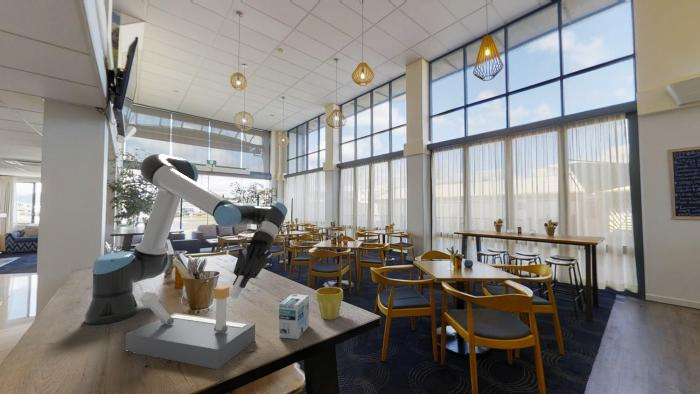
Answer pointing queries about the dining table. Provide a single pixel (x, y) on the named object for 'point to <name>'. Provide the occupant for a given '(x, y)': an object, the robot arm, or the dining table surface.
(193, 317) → the box
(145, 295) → the breaker on
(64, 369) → the dining table surface
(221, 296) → the breaker
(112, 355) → the dining table surface
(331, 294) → the plant pot
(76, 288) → the dining table surface
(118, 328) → the dining table surface
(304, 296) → the light bulb box
